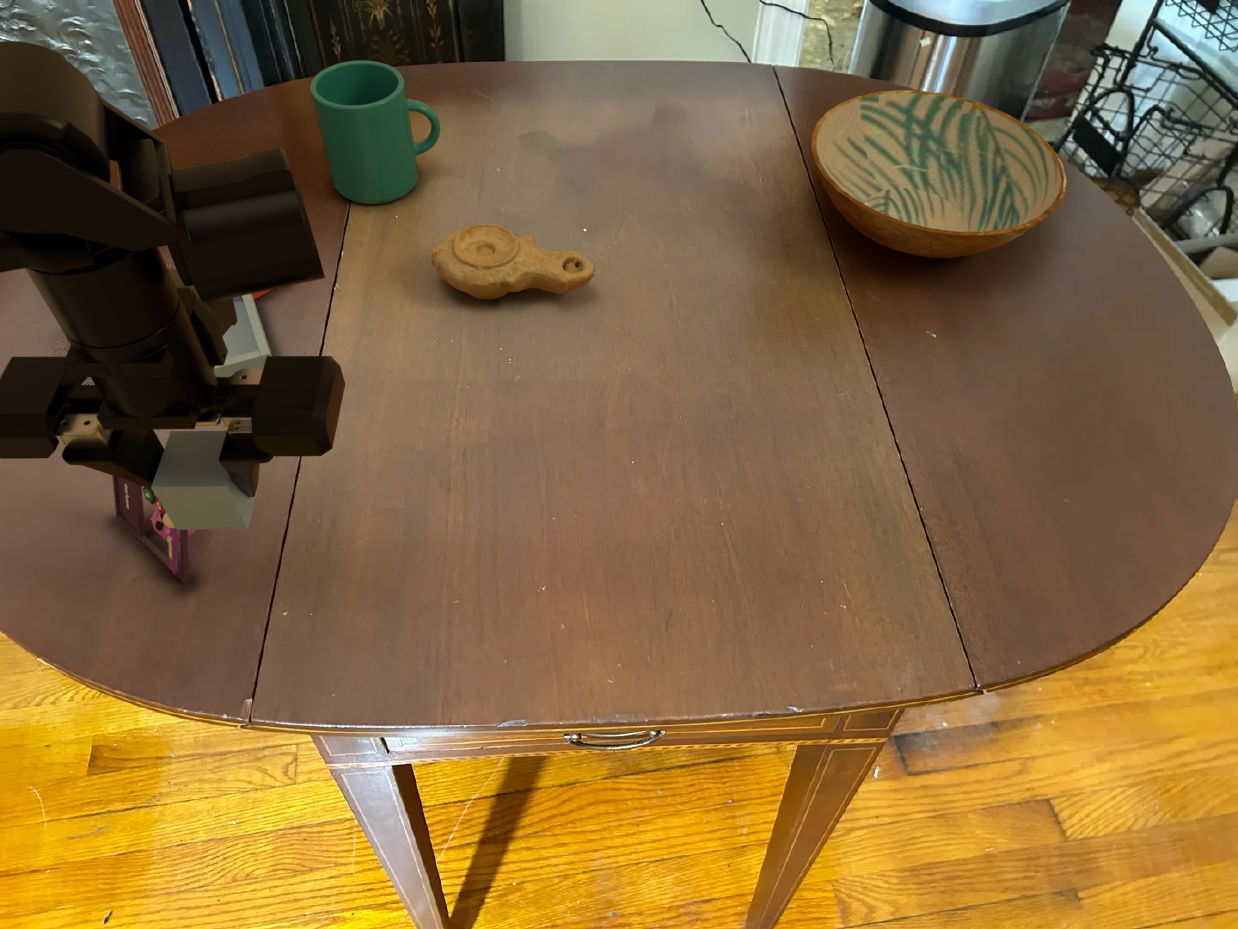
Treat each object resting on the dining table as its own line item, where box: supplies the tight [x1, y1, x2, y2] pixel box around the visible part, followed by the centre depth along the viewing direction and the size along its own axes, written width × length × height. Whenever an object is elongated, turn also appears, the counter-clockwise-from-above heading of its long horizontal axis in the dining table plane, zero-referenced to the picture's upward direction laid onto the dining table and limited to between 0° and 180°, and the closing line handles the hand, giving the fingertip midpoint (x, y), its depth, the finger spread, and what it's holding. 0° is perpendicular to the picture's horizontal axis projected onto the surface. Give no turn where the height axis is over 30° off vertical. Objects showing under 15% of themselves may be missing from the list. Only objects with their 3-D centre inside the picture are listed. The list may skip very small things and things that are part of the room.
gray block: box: [151, 430, 263, 530], centre depth 58 cm, size 4×4×4 cm
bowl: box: [810, 89, 1068, 259], centre depth 94 cm, size 25×25×8 cm
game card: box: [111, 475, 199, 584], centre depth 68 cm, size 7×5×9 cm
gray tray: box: [214, 294, 273, 377], centre depth 80 cm, size 14×12×3 cm
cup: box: [309, 60, 441, 205], centre depth 94 cm, size 9×12×11 cm
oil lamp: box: [430, 223, 596, 300], centre depth 87 cm, size 11×14×5 cm
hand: (215, 491), depth 59 cm, fingers closed on gray block, 4 cm apart
